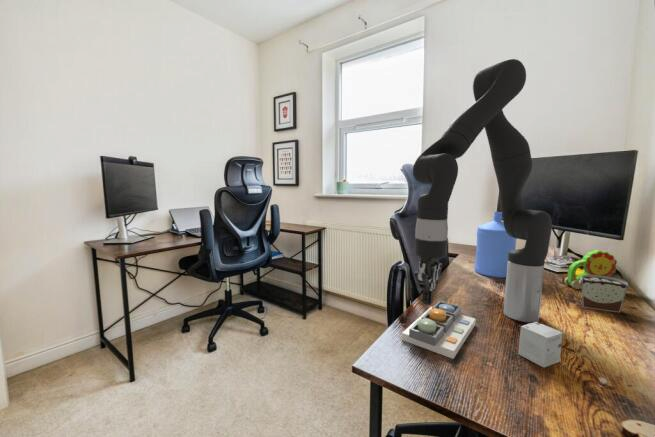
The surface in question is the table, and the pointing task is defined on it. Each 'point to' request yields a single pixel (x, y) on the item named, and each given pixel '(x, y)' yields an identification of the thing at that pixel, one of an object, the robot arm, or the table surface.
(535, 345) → the skincare box
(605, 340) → the table surface
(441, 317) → the orange button
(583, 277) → the food container
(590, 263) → the toy lion
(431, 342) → the button panel
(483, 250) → the water jug
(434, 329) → the sage green button
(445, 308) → the slate blue button
